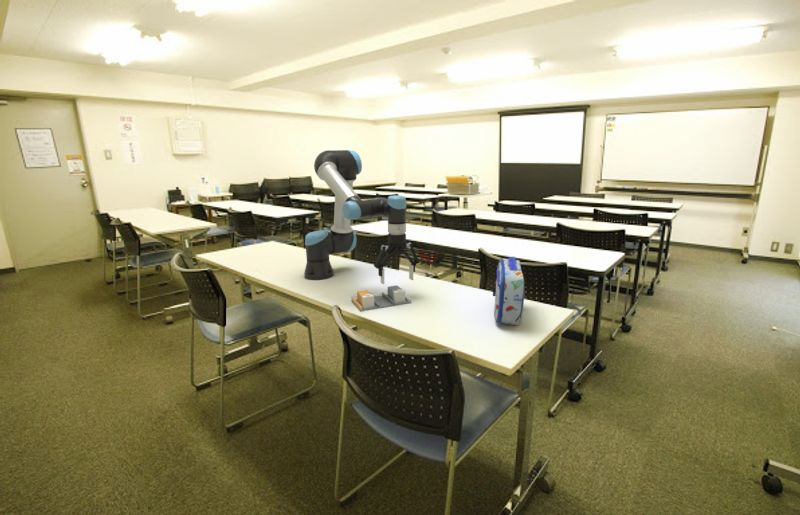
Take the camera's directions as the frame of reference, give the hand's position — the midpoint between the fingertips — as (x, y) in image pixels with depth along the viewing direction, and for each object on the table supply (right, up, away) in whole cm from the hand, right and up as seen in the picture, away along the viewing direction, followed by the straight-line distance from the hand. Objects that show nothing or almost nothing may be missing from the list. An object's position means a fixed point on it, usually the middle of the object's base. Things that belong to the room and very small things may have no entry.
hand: (397, 281), depth 168 cm
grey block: (0, -8, 0) cm, 8 cm away
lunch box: (+42, -12, -18) cm, 48 cm away
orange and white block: (-13, -9, -6) cm, 17 cm away
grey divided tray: (-7, -9, -2) cm, 11 cm away
